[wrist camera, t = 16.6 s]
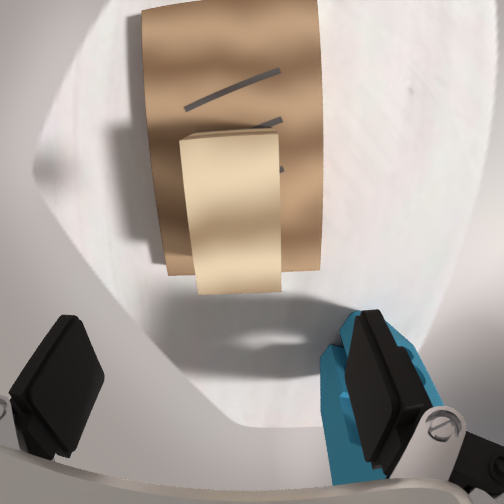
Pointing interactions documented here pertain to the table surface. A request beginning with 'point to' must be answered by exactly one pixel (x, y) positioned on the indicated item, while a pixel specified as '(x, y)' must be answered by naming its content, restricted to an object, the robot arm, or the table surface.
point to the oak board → (237, 107)
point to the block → (341, 414)
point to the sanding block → (233, 209)
